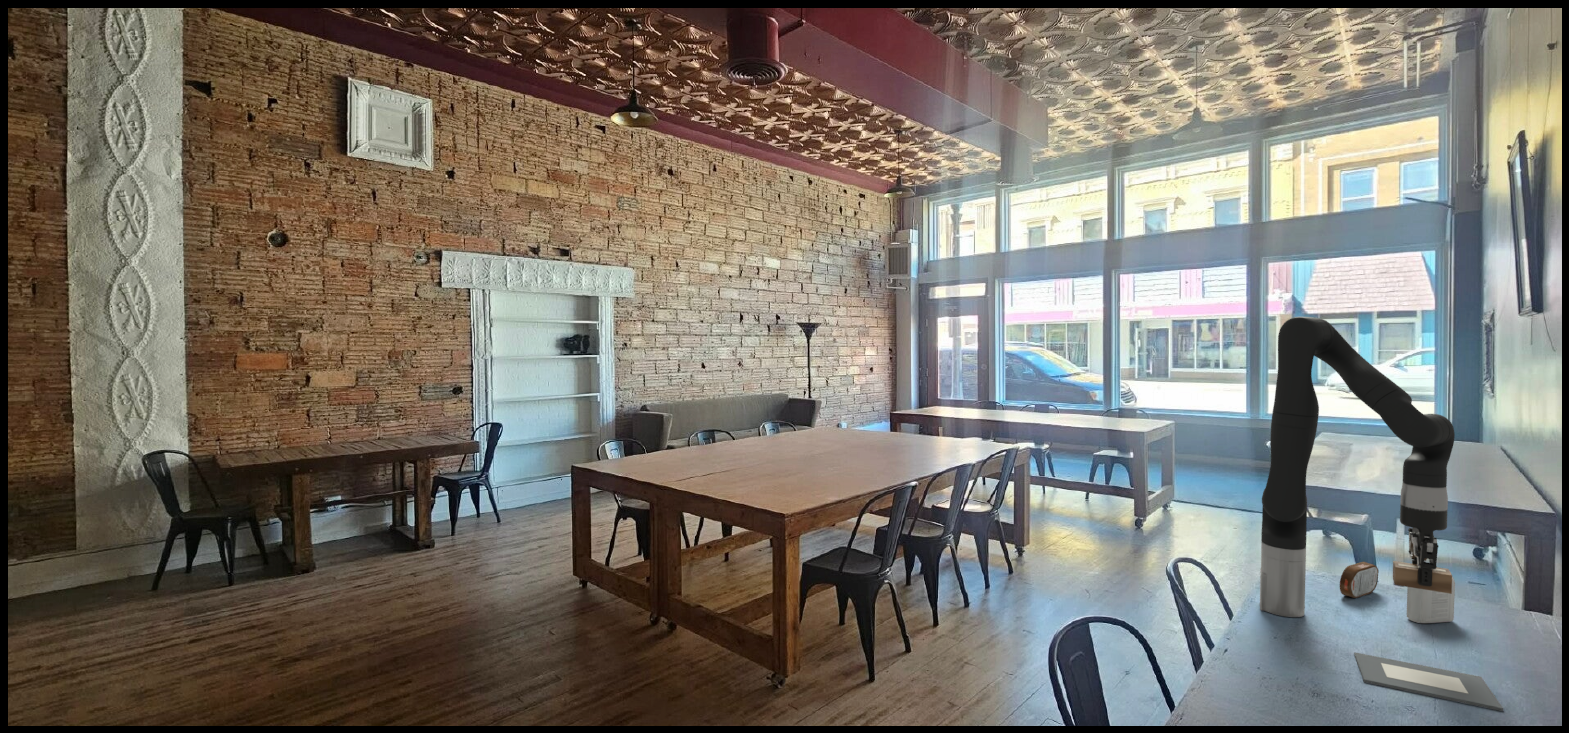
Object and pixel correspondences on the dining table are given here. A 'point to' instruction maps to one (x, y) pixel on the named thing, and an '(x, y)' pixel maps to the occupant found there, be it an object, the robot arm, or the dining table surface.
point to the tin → (1359, 579)
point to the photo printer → (1430, 605)
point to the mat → (1427, 681)
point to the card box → (1409, 575)
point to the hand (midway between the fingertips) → (1421, 581)
